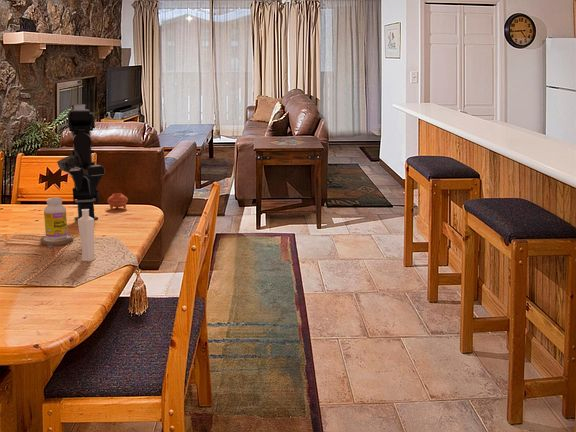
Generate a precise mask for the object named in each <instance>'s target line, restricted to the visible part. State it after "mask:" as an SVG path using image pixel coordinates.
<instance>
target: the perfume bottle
mask: <svg viewBox="0 0 576 432" xmlns="http://www.w3.org/2000/svg"><path fill="white" fill-rule="evenodd" d="M81 211H82V217H81V218H79V219H78V220H77V225H78V226H77V227H78V233H79V239H80V241H79V242H80V248H81V254H82V255H81V256H82V257H81V261H82V262H83V261H84V262H91V261H95V260H96V257H95V252H94V251H95V220H94V219H93V218H91V217H90V216H89V209H82V210H81Z"/></svg>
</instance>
